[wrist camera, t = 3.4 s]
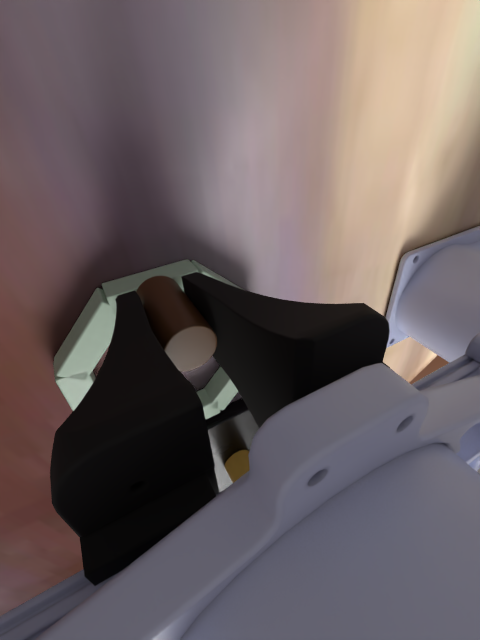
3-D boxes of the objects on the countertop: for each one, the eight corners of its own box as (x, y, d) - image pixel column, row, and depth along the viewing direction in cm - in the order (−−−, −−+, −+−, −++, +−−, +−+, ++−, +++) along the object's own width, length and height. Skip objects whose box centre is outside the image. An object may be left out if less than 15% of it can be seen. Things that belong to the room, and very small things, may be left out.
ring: (253, 380, 20) (299, 439, 17) (102, 448, 17) (121, 538, 14) (245, 235, 15) (312, 281, 11) (16, 299, 12) (12, 389, 8)
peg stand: (288, 376, 22) (358, 454, 17) (285, 453, 28) (337, 527, 23) (150, 440, 19) (191, 557, 14) (179, 512, 25) (215, 612, 20)
